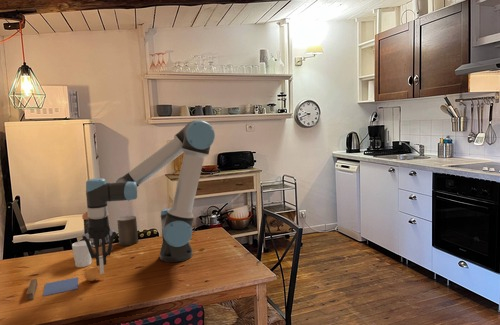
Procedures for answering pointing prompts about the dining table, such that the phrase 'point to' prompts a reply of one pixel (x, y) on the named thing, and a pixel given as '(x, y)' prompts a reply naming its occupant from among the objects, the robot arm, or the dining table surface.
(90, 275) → the ball
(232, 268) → the dining table surface
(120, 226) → the pillar candle
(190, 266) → the dining table surface
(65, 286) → the navy mark
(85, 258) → the white cup
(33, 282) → the brown wooden bar
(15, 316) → the dining table surface
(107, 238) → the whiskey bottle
